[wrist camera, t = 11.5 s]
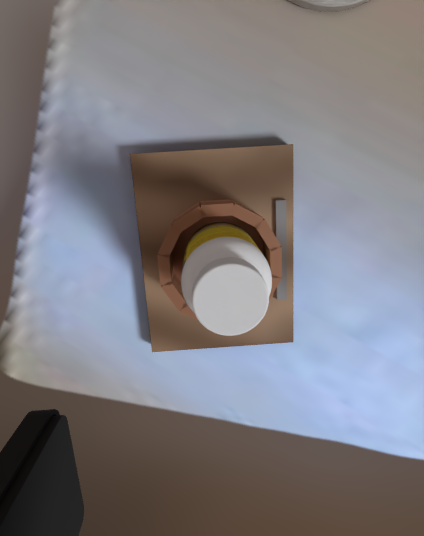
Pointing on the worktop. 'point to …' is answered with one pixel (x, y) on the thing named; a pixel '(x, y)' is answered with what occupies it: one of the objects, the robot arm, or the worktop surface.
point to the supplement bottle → (225, 279)
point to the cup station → (207, 211)
